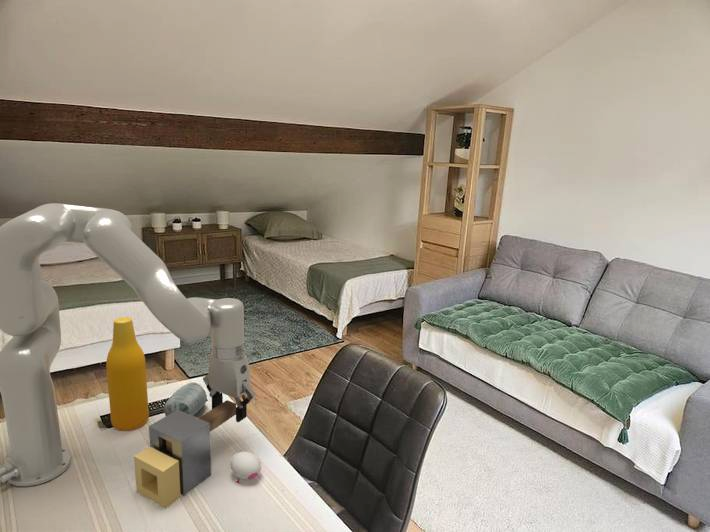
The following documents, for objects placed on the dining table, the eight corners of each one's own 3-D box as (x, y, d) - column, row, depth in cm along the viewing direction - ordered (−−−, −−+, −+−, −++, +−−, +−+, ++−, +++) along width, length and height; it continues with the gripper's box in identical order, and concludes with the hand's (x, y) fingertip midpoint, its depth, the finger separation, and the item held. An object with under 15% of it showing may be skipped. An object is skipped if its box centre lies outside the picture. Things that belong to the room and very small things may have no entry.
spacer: (165, 508, 101) (163, 471, 99) (136, 492, 106) (133, 456, 103) (180, 496, 105) (178, 461, 102) (152, 481, 109) (149, 446, 107)
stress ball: (263, 489, 113) (274, 460, 115) (243, 489, 106) (256, 459, 108) (238, 475, 116) (249, 448, 118) (218, 475, 110) (230, 446, 111)
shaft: (176, 454, 106) (175, 442, 105) (166, 450, 107) (165, 438, 106) (236, 414, 122) (236, 403, 121) (227, 410, 123) (227, 400, 123)
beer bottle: (154, 412, 135) (148, 313, 127) (142, 431, 126) (134, 327, 119) (119, 411, 134) (111, 313, 127) (105, 431, 125) (95, 326, 118)
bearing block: (184, 496, 105) (181, 441, 102) (152, 478, 110) (148, 426, 106) (211, 474, 112) (209, 423, 108) (180, 459, 116) (177, 409, 113)
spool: (190, 424, 125) (178, 386, 126) (160, 433, 127) (150, 396, 129) (220, 409, 138) (209, 375, 139) (192, 418, 140) (183, 385, 142)
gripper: (266, 352, 117) (266, 418, 121) (212, 335, 124) (214, 397, 129) (245, 364, 110) (246, 433, 115) (190, 346, 118) (192, 410, 123)
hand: (229, 414), depth 122 cm, fingers open, 7 cm apart
